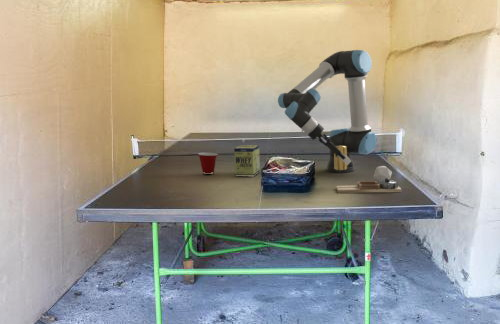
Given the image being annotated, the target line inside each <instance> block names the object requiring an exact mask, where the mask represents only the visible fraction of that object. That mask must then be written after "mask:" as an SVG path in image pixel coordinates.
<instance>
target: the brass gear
mask: <svg viewBox="0 0 500 324" xmlns="http://www.w3.org/2000/svg"><path fill="white" fill-rule="evenodd" d="M335 147H336V148H337V149H338V150H340V151H341V152H342V153H343V154H344V155H345V156H346V157H347V146H335ZM334 169H336V170H346V169H347V165H346V164H345V163H344V162H343V161H342V160H341V159H340V158H339V157H338V156H337V157H336V155H335V153H334Z"/></svg>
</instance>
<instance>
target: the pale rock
mask: <svg viewBox="0 0 500 324" xmlns="http://www.w3.org/2000/svg"><path fill="white" fill-rule="evenodd" d="M392 175H393V172H392V170H391V169H389V168H388V167H387V166H385V165H380V166H376V168H375V171H374V174H373V176H372V177H373V178H374V179H375V181H377V182H378V181H379V180H380V181H381V180H385V178H390V179H391V177H392Z"/></svg>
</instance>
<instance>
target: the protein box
mask: <svg viewBox="0 0 500 324" xmlns="http://www.w3.org/2000/svg"><path fill="white" fill-rule="evenodd" d="M233 150H234V152H233V153H234V155H233V156H234V176H235V175H255V174H256V173H257V172H259V171H260V172H261V169H260V168H261V166H260V162H261V161H260V145H259V144H240V145H239V146H236V147H235V148H234V149H233ZM260 172H259V173H260Z"/></svg>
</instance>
